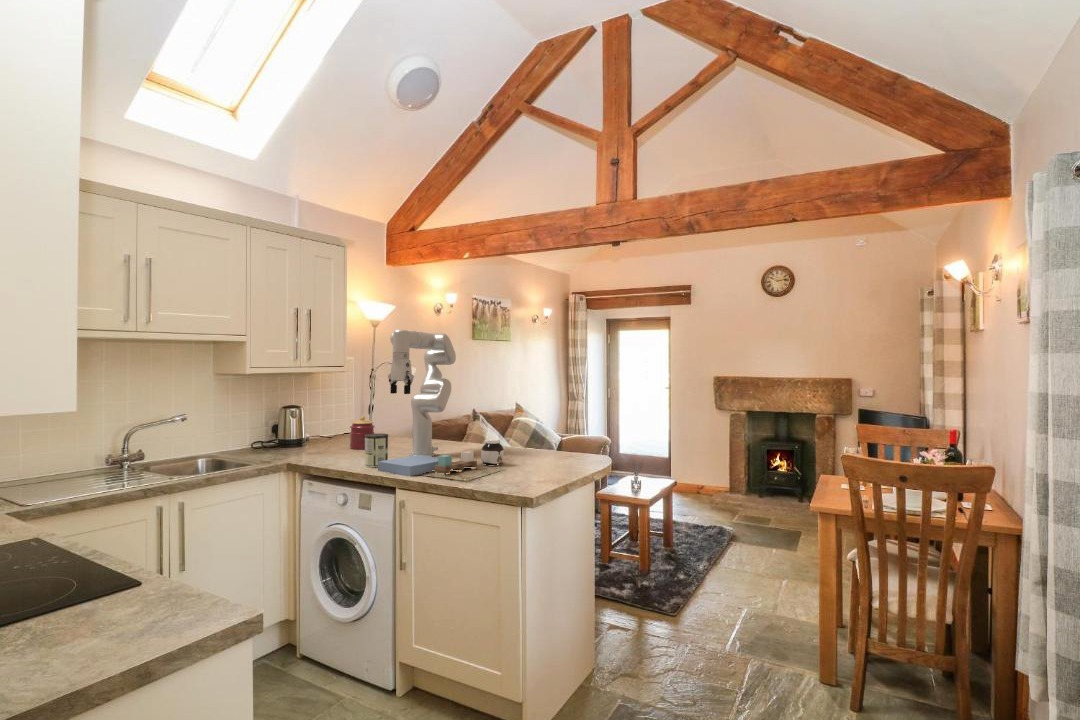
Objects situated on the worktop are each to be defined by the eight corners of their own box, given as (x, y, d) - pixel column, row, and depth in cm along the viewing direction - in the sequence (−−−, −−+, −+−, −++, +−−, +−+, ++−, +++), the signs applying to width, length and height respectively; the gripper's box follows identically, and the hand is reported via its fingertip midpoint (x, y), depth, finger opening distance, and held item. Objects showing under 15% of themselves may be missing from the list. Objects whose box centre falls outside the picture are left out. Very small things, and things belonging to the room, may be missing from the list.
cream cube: (466, 459, 252) (466, 451, 253) (473, 460, 250) (473, 451, 250) (460, 461, 249) (460, 452, 249) (467, 462, 247) (467, 452, 247)
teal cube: (444, 464, 241) (444, 454, 241) (451, 465, 239) (451, 455, 239) (438, 465, 238) (438, 456, 238) (445, 466, 235) (445, 456, 235)
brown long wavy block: (466, 467, 254) (466, 459, 254) (476, 468, 250) (476, 460, 250) (434, 473, 237) (434, 465, 237) (444, 475, 234) (445, 467, 234)
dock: (419, 463, 262) (419, 454, 263) (450, 467, 251) (450, 459, 251) (378, 470, 243) (378, 461, 243) (410, 476, 231) (410, 466, 231)
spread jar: (488, 467, 254) (488, 441, 254) (474, 463, 263) (474, 438, 263) (509, 464, 262) (509, 439, 262) (494, 461, 270) (495, 437, 271)
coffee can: (375, 463, 262) (375, 432, 263) (392, 464, 258) (393, 434, 258) (359, 466, 253) (359, 435, 253) (377, 468, 249) (377, 436, 249)
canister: (345, 449, 306) (345, 416, 306) (356, 446, 318) (357, 414, 319) (367, 450, 303) (368, 417, 304) (378, 446, 316) (378, 415, 316)
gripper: (419, 356, 258) (419, 394, 257) (395, 357, 268) (394, 393, 268) (406, 356, 252) (405, 394, 251) (382, 356, 263) (381, 393, 262)
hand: (400, 393), depth 260 cm, fingers open, 9 cm apart
